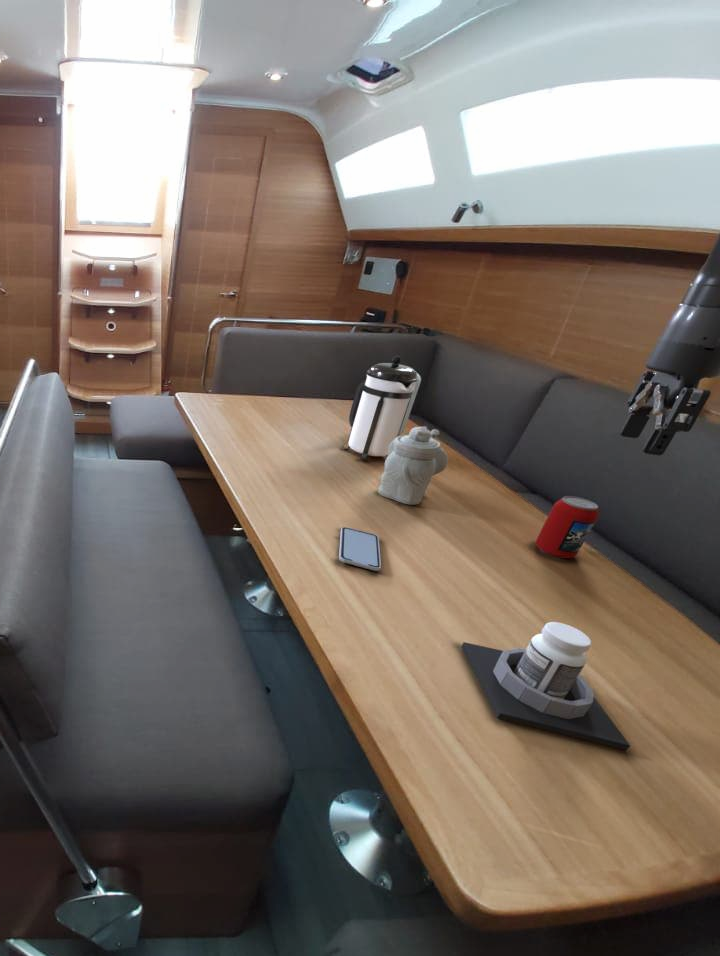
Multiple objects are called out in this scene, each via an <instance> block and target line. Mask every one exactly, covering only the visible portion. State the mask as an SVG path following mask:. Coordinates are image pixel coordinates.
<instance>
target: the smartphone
mask: <svg viewBox="0 0 720 956" xmlns="http://www.w3.org/2000/svg"><path fill="white" fill-rule="evenodd" d="M339 536H340V537H339V553H338V559H339V561H340V562H343V563H346V564H348V565H353V566H356V567H360V568H363V569H368V570H371V571H375V572H379V571H380V570H381V568H382V563H381V562H382V561H381V549H380V537H379V535H378V534H375V533H372V532H368V531H364V530H359V529H356V528H351V527H347V526H342V527H341V528H340V535H339Z"/></svg>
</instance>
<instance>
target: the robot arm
mask: <svg viewBox="0 0 720 956" xmlns="http://www.w3.org/2000/svg"><path fill="white" fill-rule="evenodd" d="M645 367H646V368H647V369H648V370H644V371H643V372H642V374H641V376H640V377H639V379H638V381H637V383H636V385H635V386H634V388H633V390H632V392H631V394H630V395H629V397H628V398H627V401H626V403H625V406H626V407H629V408H628V413H629V414H628V416H627V418H626V420H625V421H624V423H623V426H622V427H621V429H620V431H619V435H620V436H621V437H624V438H631V439H637V438H639V437H641V434H642V432H643V430H644V429H645V427H646V425H647V423H648V421H649V420H650V418H651V415H653V416H655V424H654V428H653V429H652V430H651V432H650V433H649V435H648V437H647V439H646V441H645V442H644V444H643V446H642V447H641V451H642V453H644V454H647V455H653V456H662V455H663V454H665V452H666V450H667V449H668V447H669V445H670V444H671V442H672V440H673V438H674V437H675V435H676V433H681V432H683V433H685V432H686V433H688V432H690V431H691V430H692V428H693V426H694V424H695V423H696V421H697V419H698V418H699V416H700V414H701V412H702V410H703V408H704V407H705V405H706V403H707V402H708V399H709V398H710V396H711V393H712V391H711V390H710V389H703V388H699V385H700V381H701V380H703V379H705V378H707V379H713V378H717V377H719V376H720V232H719V233H718V235H717V237H716V239H715V242H714V244H713V245H712V247H711V250H710V252H709V255H708V257H707V259H706V260H705V262H704V263H703V265H702V266H701V268H700V269H699V271H697V273H696V275H695V276H694V278H693V279H692V281H691V283H690V284H689V286H688V288H687V290H686V292H685V294H684V295H683V298H682V299H681V302H680V304H679V305H678V307H677V308H676V310H675V311H674V312H673V314H672V315H671V317H669V320H668V321H667V323H666V324H665V326H664V329H663V331H662V332H661V335H660V336H659V337H658V340H657V342H656V343H655V346H654V347H653V350H652V351H651V353H650V355H649V357H648V359H647V361H646V362H645Z"/></svg>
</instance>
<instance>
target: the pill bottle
mask: <svg viewBox="0 0 720 956" xmlns="http://www.w3.org/2000/svg"><path fill="white" fill-rule="evenodd" d="M591 645H592V641H591V638H590V637H589V636H588V635H587V634H585V633H584V632H583V631H581V630H580V629H577V628H576V627H573V626H571V625H568V624H565V623H563V622H558V621H557V622H556V621H550V622H547V623H545V625H544V626H543V628H542V629H541V633H538V634H536V635H534V636H533V637H532V638H531V639H530V641H529V644H528V645H527V647H526V648H525V650H526V651H525V652H524V654H523V656H522V658H521V660H520V661H519V663H518V665H517V667H516V669H515V671H514V674H515V675H516V676H518V677H519V678H520V679H521V680H523V681H524V682H525V683H526V684H528V685H529V686H531V687H533V688H535V689H537V690H539V691H541V692H543V693H545V694H547V695H549V696H551V697H556V698H560V699H563V698H564V697H565V696H566V694H567V693H568V691H569V689H570V688H571V686H572V685H573V683H574V681H575V680H576V678H577V677H578V675H581V672H582V670H583V669H584V667H585V665H586V664H587V655H586V652H588V651H589V649H590V647H591Z"/></svg>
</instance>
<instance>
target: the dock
mask: <svg viewBox="0 0 720 956" xmlns="http://www.w3.org/2000/svg"><path fill="white" fill-rule="evenodd" d="M461 648H462V651H463V652H464V655H465V656H466V659H467V660H468V662H469V665H470V666H471V668H472V670H473V673H474V675H475V677H476V678H477V681H478V682H479V685H480V686H481V688H482V691H483V692H484V695H485V697H486V698H487V700H488V702H489V705H490V706H491V708H492V710H493V713H494V714H495V716H496V718H497V719H499V720H503V721H507V722H512V723H516V724H518V725H523V726H527V727H530V728H535V729H540V730H542V731H546V732H551V733H554V734H555V733H556V734H558V735H563V736H567V737H571V738H576V739H578V740H582V741H587V742H590V743H595V744H597V745H602V746H606V747H610V748H614V749H619V750H623V751H628V749H630V746H631V744H630V743H629V742H628V740H627V739H626V737H624V735H623V734H622V732H621V731H620V730H619V728H618V727H617V725H615V723H614V722H613V720H612V719H611V718H610V716H609V714H608V713H607V712H606V711H605V710H604V708H603V706H601V704H600V703H599V701H598V700H597V699H596V697H595V691H594V689H592V687H591V685H590V684H589V683H588V681H587V680H586V679H585V678H584V677H583V675H581V674H579V675H578V677H577V678H576V680H575V681H574V683H573V685H572V686H571V688H570V689H569V691H568V693H567V694H566V696H565V697H564V698H563V699H560V698H556V697H551V696H549V695H547V694H545V693H543V692H541V691H539V690H537V689H535V688H533V687H531V686H529V685H528V684H526V683H525V682H524V681H523V680H521V679H520V678H519V677H518V676H516V675H515V674H514V671H515V669H516V667H517V665H518V663H519V661H520V660H521V658H522V656H523V654H524V652H525V651H526V648H525V649H524V648H521V647H520V648H519V647H515V648H510V649H504V650H502V649H497V648H493V647H488V646H483V645H480V644H475V643H469V642H465V641H464V642H463V643H462V645H461Z"/></svg>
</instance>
